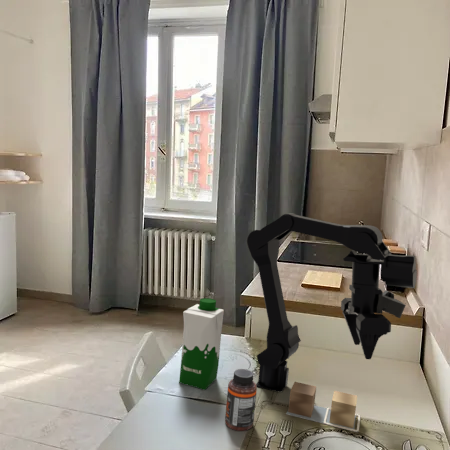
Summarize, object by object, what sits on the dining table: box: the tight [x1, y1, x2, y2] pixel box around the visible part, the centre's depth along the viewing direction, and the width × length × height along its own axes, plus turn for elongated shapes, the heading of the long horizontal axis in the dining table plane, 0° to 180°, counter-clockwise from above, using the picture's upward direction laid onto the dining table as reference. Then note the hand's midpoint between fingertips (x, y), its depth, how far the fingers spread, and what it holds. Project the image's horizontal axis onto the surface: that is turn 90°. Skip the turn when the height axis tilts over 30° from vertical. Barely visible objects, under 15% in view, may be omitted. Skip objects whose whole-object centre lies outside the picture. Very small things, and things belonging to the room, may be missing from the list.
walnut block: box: [287, 381, 317, 418], centre depth 103 cm, size 5×5×5 cm
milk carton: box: [178, 297, 225, 391], centre depth 112 cm, size 9×9×20 cm
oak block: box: [329, 390, 358, 428], centre depth 100 cm, size 5×5×5 cm
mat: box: [285, 404, 357, 430], centre depth 101 cm, size 14×7×1 cm, turn 71°
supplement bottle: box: [224, 368, 258, 432], centre depth 94 cm, size 6×6×11 cm
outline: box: [322, 407, 361, 433], centre depth 100 cm, size 7×7×1 cm
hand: (362, 351), depth 102 cm, fingers open, 9 cm apart
